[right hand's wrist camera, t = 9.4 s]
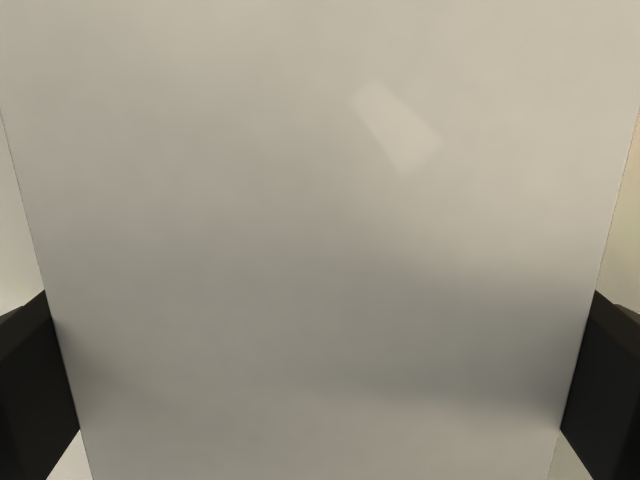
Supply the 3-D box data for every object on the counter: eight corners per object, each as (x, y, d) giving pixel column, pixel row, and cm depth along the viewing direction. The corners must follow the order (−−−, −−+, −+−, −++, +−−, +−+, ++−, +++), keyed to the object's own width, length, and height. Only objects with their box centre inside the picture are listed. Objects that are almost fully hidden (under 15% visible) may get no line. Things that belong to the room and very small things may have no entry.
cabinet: (160, -171, 14) (-223, -751, 4) (480, -172, 14) (862, -761, 4) (210, 316, 20) (107, 543, 10) (430, 316, 20) (532, 544, 10)
